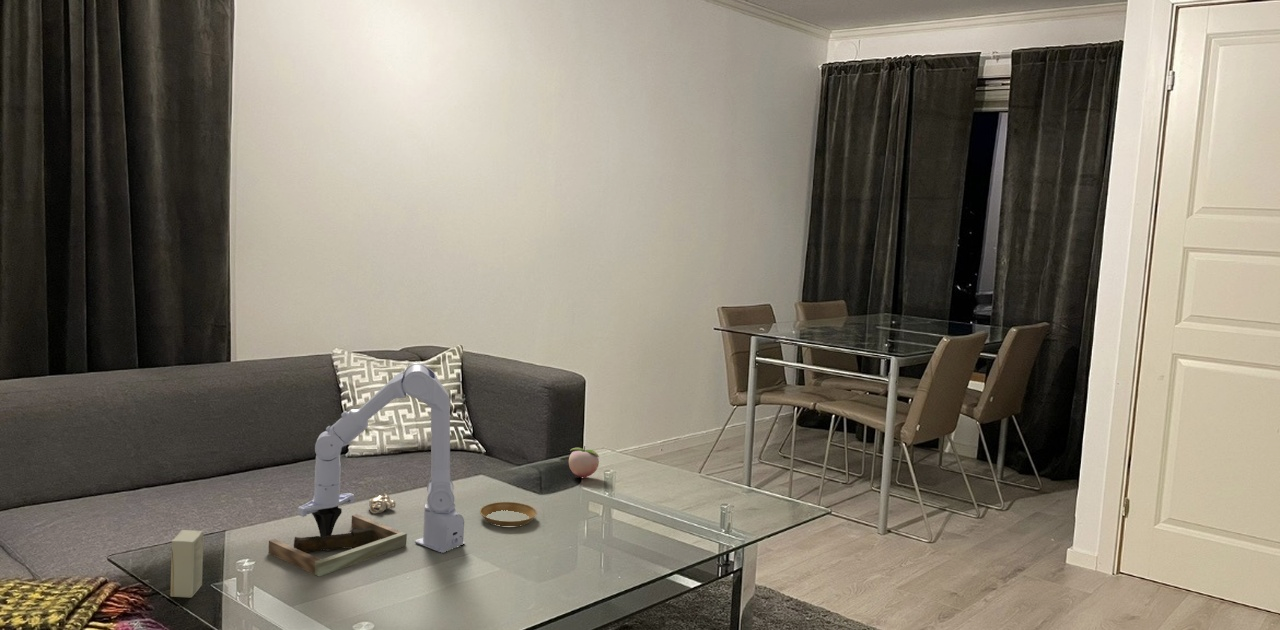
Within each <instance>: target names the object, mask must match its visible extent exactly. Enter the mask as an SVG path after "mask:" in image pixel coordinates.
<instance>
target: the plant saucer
mask: <svg viewBox="0 0 1280 630" xmlns="http://www.w3.org/2000/svg"><path fill="white" fill-rule="evenodd" d="M501 510H503V511H504V510H505V511H506V510H508V511H514V512H519V513H523V514H526V515H527V516H529V519H526V520H521V521H499V520H494V519H490V518H487V517H486V516H487V515H488V514H491V513H492V512H496V511H501ZM479 513H480V515H481V516H482V518H483V519H484V520H485V521H488V524H490V523H492V524H496V525H500V526H520V525H523V526H525V525H524V524H526V525H528V523H530V522H531V521H532V520H533V519H534V518H535V517H536V516H537V514H538V512H537V509H536V508H534V507H533V506H531V505H529V504H525V503H520V502H513V501H499V502H493V503H489V504H485V505H483V506H482V507H481V508H480V510H479ZM492 524H491V525H492ZM520 527H521V526H520Z"/></svg>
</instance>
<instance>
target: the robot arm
mask: <svg viewBox="0 0 1280 630" xmlns="http://www.w3.org/2000/svg"><path fill="white" fill-rule="evenodd" d="M407 395H408V396H409V397H412V398H413V399H417V400H419V401H421V402H423V403H425V404H426V405H427V407H429V408H430V450H431V451H430V453H431V454H430V456H431V457H430V459H431V460H430V466H431V467H430V470H431V471H430V479H429V481H428V482H427V486H426V488H427V489H426V491H427V498H426V503H425V505H424V512H423V515H424V516H423V530H422V531H423V532H422V533H423V535H422V537H421V538H418V539H415V540H414V543H416V544H418V545H421V546H423V547H426V548H428V549H430V550H433V551H435V552H439V553H440V552H441V554H443V553H446V551H447V552H449V551H451V550H450V549H452V548H455V547H457V546H460V545H463V544H465V545H466V541H464V535H465V534H464V533H465V518H464V516H463V515H462V514H460V512H458V511H457V509H456V504H455V494H454V483H453V481H452V479H451V399H450V394H449V392H448V391H447V390H446V388H445V387H444V385H443V384H442V382H441V381H440V379H439V378H438V377H437V375H436V373H435V371H433V370H432V369H431V368H429V367H428V366H426V365H424V364H423V363H417V362H415V363H412V364H410V365H408V367H406V369H405V370H402V371H400V372H399V373H397V374H396V375H395V376H394V377H393V378H391V379H390V380H389V381H387V382H386V383H385V384H384V385H383V386H382V387H381V388H380V389H379V390H378V391H377V392H376V393H375V394H373V396H371V398H370V399H369V400H367V402H366V403H364V404H363V405H362V406H361V407H360V408H352V409H350V410H349V411H347V410H344V411H343V412H342V413H341V414H340V415H341V417H340V418H339V419H338V420H336V422H334V423H333V424H332V425H328V426H327V427H326V428H325V431H323V432H321V433H320V434H319V435H318V438H317V439H316V442H315V444H314V452H315V454H316V455H315V461H316V462H315V464H314V489H313V490H314V493H313V498H312V500H310V501H308V502H306V503H304V504H303V505H300V506H298V507H297V515H298V516H300V517H303V518H304V517H306V516H307V515H310V514H311V515H312V517H313V519H315V522H316V525H317V528H318V533H319V536H327V535H333V531H334V528H335V525H336V522H337V520H338V518H339V517H340V516H341V514H342V513H343V511H342V510H343V509H342V508H340V507H339V506H341V505H344V504H345V505H346V504H352V503H354V502H355V494H353V493H350V492H346V493H341V472H342V471H341V469H342V466H341V465H342V464H341V453H342V448H344V447H345V446H348V445H349V444H350V443H352V441H354V440H355V439H356V438H357V437H358V436H359V435H360V434H362V433H363V432H364V431H365V430H367V428H368V427H369V420H371V418H372V417H373V416H375V415H376V414H378V412H380V411H381V410H382V409H383V408H384V407H386V406H387V405H388V404H389V403H390V402H392V401H393V400H394V399H407ZM463 546H464V545H463ZM460 547H461V546H460ZM457 548H458V547H457ZM455 549H456V548H455ZM448 550H449V551H448ZM452 550H453V549H452ZM442 552H443V553H442Z"/></svg>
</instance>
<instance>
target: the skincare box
mask: <svg viewBox="0 0 1280 630" xmlns="http://www.w3.org/2000/svg"><path fill="white" fill-rule="evenodd" d="M170 555H171V556H170V557H171V558H170V560H171V561H170V565H171V566H170V597H172V598H173V597H174V598H190V599H191V598H193V597H194V595H195V594H196V593H197V592H198V591H199V589H200V588H201V587H202V586H203V559H204V557H203V556H204V530H196V529H195V530H194V529H193V530H192V529H181V530H180V531H179V532H178V533H177V535H175V536H174V538H173V539H172V540H171V554H170Z"/></svg>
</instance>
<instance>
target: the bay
mask: <svg viewBox="0 0 1280 630" xmlns="http://www.w3.org/2000/svg"><path fill="white" fill-rule="evenodd" d="M351 528H352V529H354V530H355V529H365V528H371V529H373V530H374V531H375V532H376V534H377V536H378V540H377V541H374V542H372V543H369V544H366V545H363V546H360V547H357V548H354V549H352V548H350V549H348V550H345V551H341V552H338V553H335V554H334V555H330V556H328V557H324V558H322V559H320V558H318V557H316V556H314V555H312V554H309V553H308V552H303V551H301V550H298V549H296V548H294V546H291V545H289V544H288V543H284V542H283V541H280V540H278V539H276V538H272V539H270V540H268V554H269V555H271V556H274V557H275V558H278V559H280V560H282V561H284V562H287V563H289V564H291V565H293V566H295V567H297V568H300V569H302V570H304V571H307V572H309V573H311V574H313V575H315V576H318V577H321V576H325V575H328V574H331V573H333V572H335V571H339V570H343V569H344V568H348V567H351V566H353V565H356V564H359V563H361V562H364V561H367V560H369V559H372V558H373V559H374V558H375V557H379V556H381V555H384V554H386V553H390V552H393V551H395V550H398V549H401V548H404V547H407V539H408V538H407V536H408V533H405V532H404V531H401V530H399V529H396V528H393V527H390V526H388V525H385V524H383V523H380V522H378V521H375V520H373V519H371V518H368V517H365V516H362V515H360V514H357V513H356V514H352V515H351Z"/></svg>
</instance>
